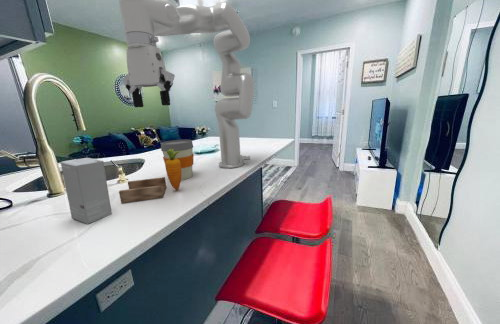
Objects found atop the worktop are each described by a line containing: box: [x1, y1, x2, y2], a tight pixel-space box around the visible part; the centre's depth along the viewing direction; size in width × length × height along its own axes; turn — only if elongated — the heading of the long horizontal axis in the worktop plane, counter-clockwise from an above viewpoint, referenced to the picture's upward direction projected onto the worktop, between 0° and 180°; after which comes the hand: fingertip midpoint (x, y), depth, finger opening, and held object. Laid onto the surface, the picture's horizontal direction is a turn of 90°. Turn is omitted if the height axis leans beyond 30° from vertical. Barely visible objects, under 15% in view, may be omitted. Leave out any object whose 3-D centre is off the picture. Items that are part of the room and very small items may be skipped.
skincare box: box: [60, 157, 113, 225], centre depth 55 cm, size 8×7×16 cm
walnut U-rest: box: [118, 176, 167, 205], centre depth 70 cm, size 12×10×4 cm
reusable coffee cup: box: [160, 139, 194, 181], centre depth 86 cm, size 13×13×15 cm
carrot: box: [164, 149, 182, 192], centre depth 71 cm, size 5×5×15 cm
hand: (152, 106), depth 63 cm, fingers open, 9 cm apart
